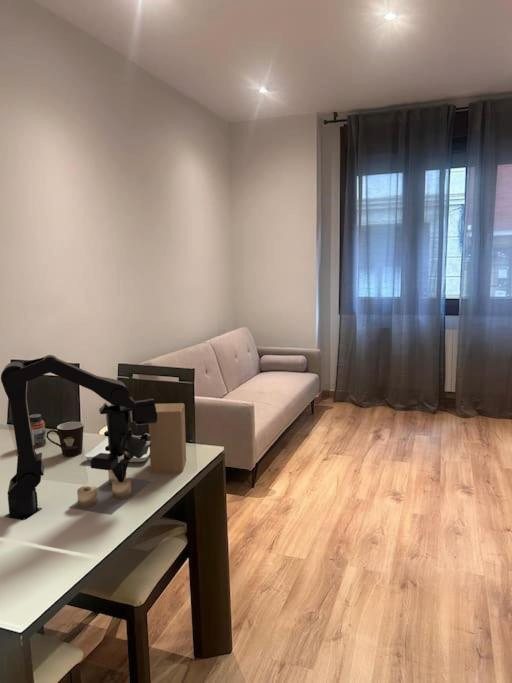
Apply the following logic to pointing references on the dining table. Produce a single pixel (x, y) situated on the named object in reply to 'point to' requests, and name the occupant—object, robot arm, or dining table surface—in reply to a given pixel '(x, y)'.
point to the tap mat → (106, 497)
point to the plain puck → (121, 488)
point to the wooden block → (168, 439)
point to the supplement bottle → (37, 430)
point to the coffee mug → (69, 438)
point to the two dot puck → (112, 476)
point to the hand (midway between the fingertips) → (121, 481)
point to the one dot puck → (87, 496)
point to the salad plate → (101, 449)
